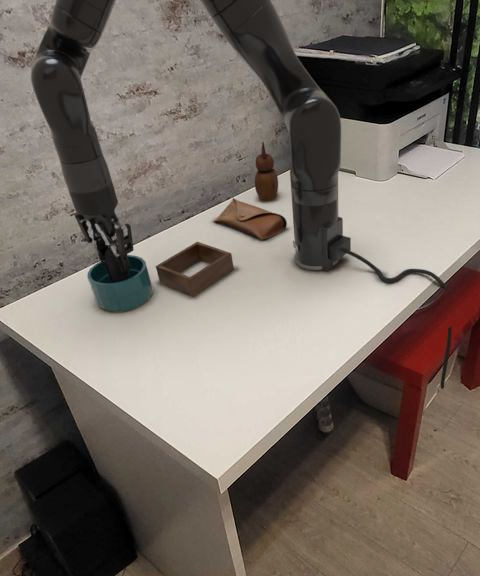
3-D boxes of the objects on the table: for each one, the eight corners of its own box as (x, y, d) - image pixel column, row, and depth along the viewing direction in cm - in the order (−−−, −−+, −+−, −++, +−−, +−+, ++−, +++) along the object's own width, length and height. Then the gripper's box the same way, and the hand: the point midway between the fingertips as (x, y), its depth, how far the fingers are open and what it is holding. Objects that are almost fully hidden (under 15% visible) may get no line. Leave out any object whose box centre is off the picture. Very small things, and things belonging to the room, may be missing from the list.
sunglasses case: (210, 220, 130) (217, 193, 128) (230, 224, 136) (237, 199, 134) (263, 240, 120) (271, 211, 118) (282, 244, 126) (290, 216, 124)
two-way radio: (135, 299, 104) (112, 230, 95) (112, 303, 104) (87, 234, 95) (135, 285, 109) (114, 217, 99) (114, 289, 108) (90, 221, 99)
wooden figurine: (275, 203, 137) (270, 144, 127) (254, 202, 138) (247, 144, 128) (281, 192, 142) (276, 135, 132) (260, 192, 143) (254, 135, 133)
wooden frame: (234, 269, 112) (231, 253, 110) (193, 296, 105) (189, 279, 102) (200, 257, 117) (197, 241, 115) (159, 282, 110) (155, 266, 108)
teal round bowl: (164, 291, 107) (157, 264, 103) (121, 319, 101) (111, 291, 96) (129, 276, 113) (121, 249, 109) (86, 302, 106) (75, 274, 102)
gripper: (132, 182, 90) (155, 268, 101) (82, 168, 97) (109, 250, 108) (96, 198, 86) (124, 287, 97) (47, 182, 93) (78, 266, 104)
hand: (116, 267), depth 102 cm, fingers closed on two-way radio, 5 cm apart
